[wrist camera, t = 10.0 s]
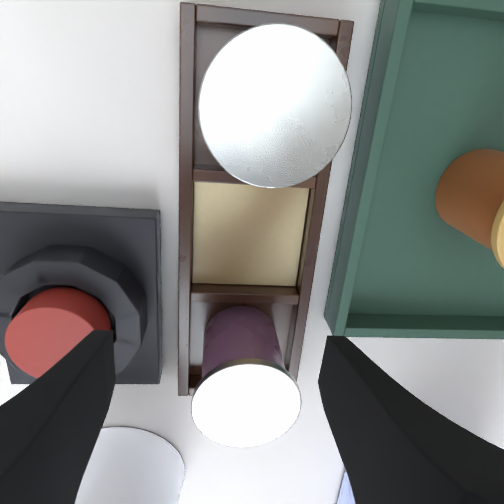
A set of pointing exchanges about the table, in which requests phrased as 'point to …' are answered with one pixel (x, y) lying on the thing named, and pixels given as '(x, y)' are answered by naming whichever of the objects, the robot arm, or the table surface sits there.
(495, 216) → the coffee pod
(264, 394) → the mauve pod
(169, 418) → the table surface
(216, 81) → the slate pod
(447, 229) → the tray
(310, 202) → the pod stand
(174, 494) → the mug
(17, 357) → the button
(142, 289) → the button block
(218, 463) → the table surface
